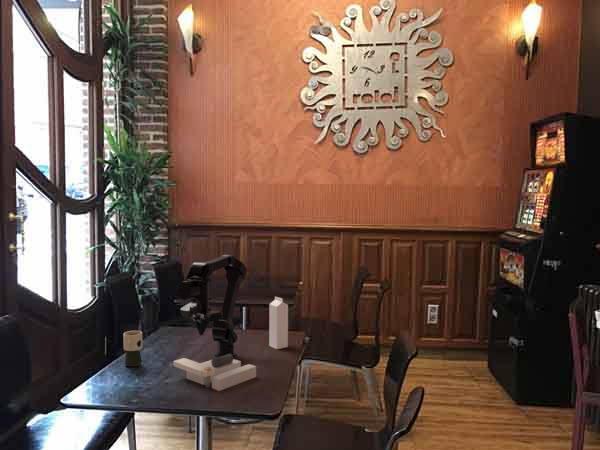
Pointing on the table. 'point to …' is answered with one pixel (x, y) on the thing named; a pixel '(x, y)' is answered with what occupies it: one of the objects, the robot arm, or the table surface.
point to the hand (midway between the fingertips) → (201, 334)
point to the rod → (222, 360)
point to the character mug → (132, 347)
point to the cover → (194, 367)
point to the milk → (278, 324)
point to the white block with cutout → (225, 375)
